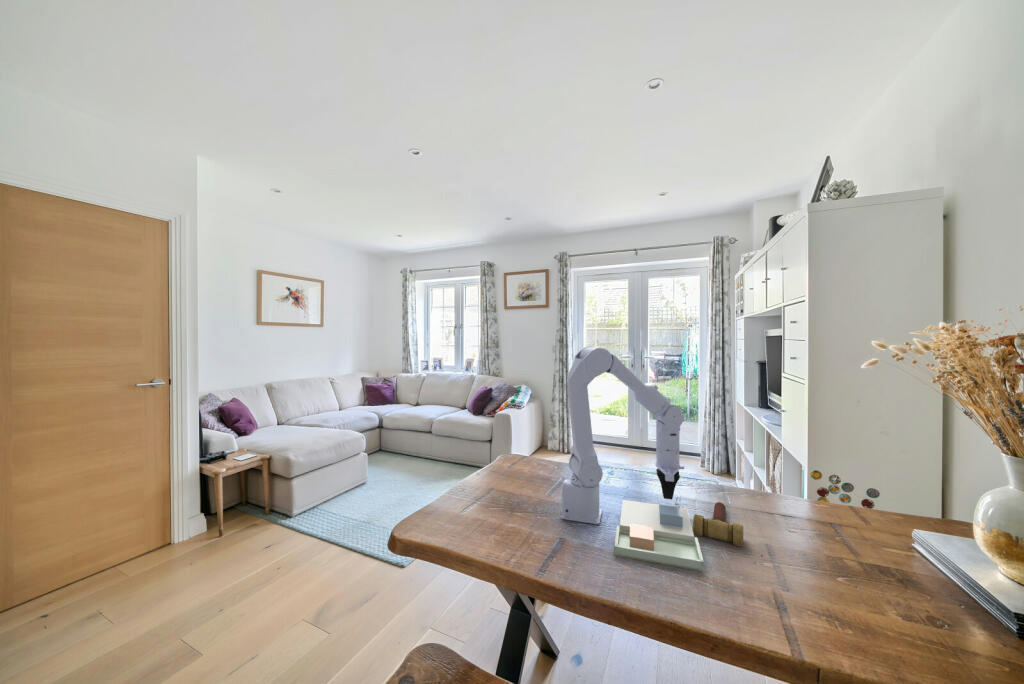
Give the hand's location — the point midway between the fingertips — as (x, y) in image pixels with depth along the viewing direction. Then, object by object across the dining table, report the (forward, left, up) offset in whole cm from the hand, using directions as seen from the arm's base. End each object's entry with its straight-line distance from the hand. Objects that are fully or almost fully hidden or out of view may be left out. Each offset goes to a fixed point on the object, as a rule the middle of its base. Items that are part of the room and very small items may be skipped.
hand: (667, 498), depth 100 cm
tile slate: (0, -10, -1) cm, 10 cm away
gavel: (+12, -3, -4) cm, 13 cm away
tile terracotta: (-7, -19, -3) cm, 21 cm away
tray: (-4, -21, -3) cm, 21 cm away
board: (-4, -9, -3) cm, 10 cm away
